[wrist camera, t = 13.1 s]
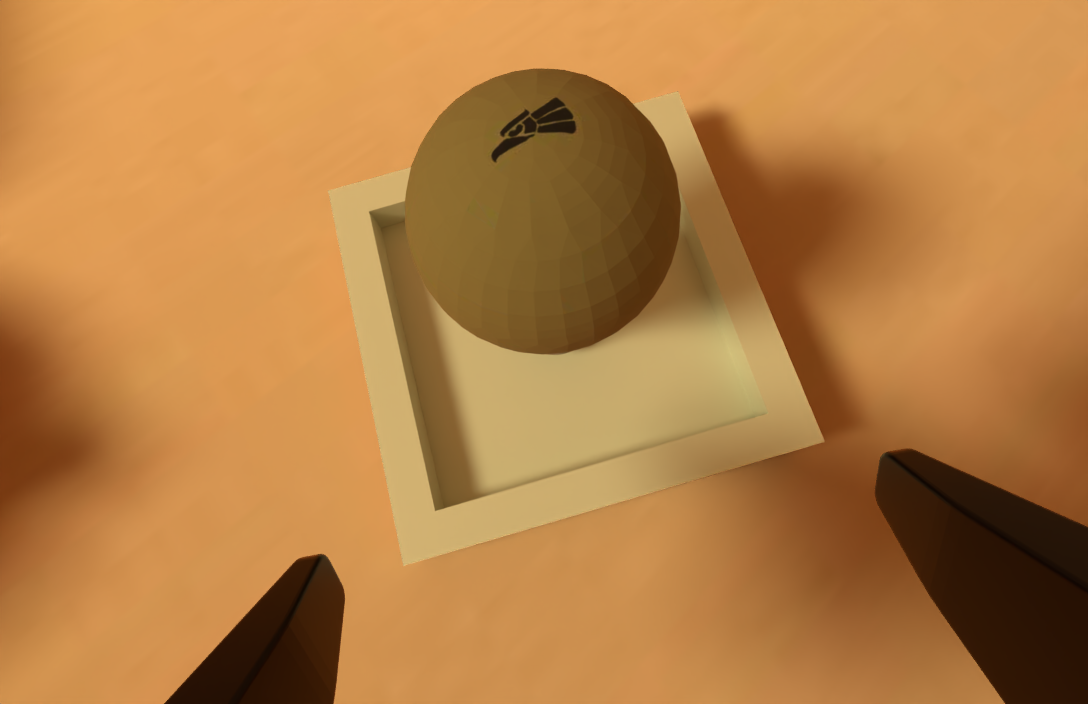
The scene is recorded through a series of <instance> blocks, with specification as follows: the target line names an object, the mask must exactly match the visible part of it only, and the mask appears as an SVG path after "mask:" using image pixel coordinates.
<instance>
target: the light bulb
mask: <svg viewBox="0 0 1088 704" xmlns="http://www.w3.org/2000/svg"><path fill="white" fill-rule="evenodd" d="M680 214H681V201H680V195H679V188H678V181H677V175H676V172H675V169H674V167H673V164H672V162H671V159H670V156H669V154H668V151H667V149H666V146H665V143H664V141H663V140H662V138H661V137H660V135H659V134H658V132H657V131H656V129H655V128H654V126H653V125H652V123H651V122H650V121H649V120H648V119H647V118H646V117H645V116H644V115H643V114H642V112H641V111H640V110H638V109H637V108H636V107H635V106H634V105H633V104H632V103H631V102H630V101H629V100H628V99H627V98H626V97H625V96H624V95H622V94H621V93H619V92H618V91H616V90H615V89H613V88H612V87H610V86H609V85H607V84H605V83H603V82H601V81H598V80H596V79H594V78H591V77H589V76H587V75H583V74H578V73H574V72H570V71H566V70H558V69H529V70H522V71H515V72H511V73H508V74H504V75H501V76H498V77H495V78H492V79H490V80H488V81H486V82H484V83H482V84H479V85H477V86H475V87H473V88H472V89H470V90H469V91H468V92H466V93H465V94H463V95H462V96H460V97H459V98H457V99H456V100H455V101H454V102H453V103H452V104H451V105H450V106H449V107H448V108H447V109H446V110H445V111H444V112H443V113H442V114H441V115H440V116H439V117H438V119H437V120H436V121H435V123H434V124H433V126H432V127H431V129H430V130H429V132H428V133H427V135H426V136H425V138H424V140H423V141H422V143H421V145H420V147H419V149H418V152H417V154H416V156H415V159H414V161H413V163H412V166H411V170H410V174H409V179H408V184H407V189H406V197H405V226H406V233H407V238H408V242H409V246H410V251H411V255H412V258H413V261H414V264H415V266H416V268H417V270H418V272H419V274H420V276H421V278H422V280H423V283H424V285H425V286H426V288H427V290H428V291H429V292H430V294H431V295H432V296H433V298H434V299H435V300H436V301H437V303H438V304H439V305H440V307H441V308H442V309H443V310H444V311H445V312H446V313H447V314H448V315H449V316H450V317H451V318H452V319H453V320H454V321H456V322H457V323H458V324H459V325H460V326H461V327H462V328H464V329H466V330H467V331H469V332H470V333H472V334H473V335H475V336H476V337H478V338H480V339H482V340H485V341H487V342H490V343H492V344H494V345H497V346H499V347H501V348H505V349H509V350H512V351H516V352H522V353H532V354H541V355H544V354H547V355H560V354H565V353H569V352H571V351H574V350H578V349H581V348H585V347H588V346H591V345H593V344H595V343H597V342H599V341H601V340H603V339H605V338H607V337H609V336H611V335H613V334H615V333H616V332H618V331H619V330H620V329H621V328H623V327H624V326H625V325H627V324H628V323H629V322H630V321H632V320H633V319H634V318H636V317H637V316H638V315H639V314H640V312H641V311H642V310H643V309H644V308H645V307H646V305H647V304H648V303H649V302H650V301H651V300H652V298H653V297H654V296H655V294H656V292H657V291H658V289H659V288H660V286H661V284H662V283H663V281H664V279H665V277H666V275H667V273H668V270H669V268H670V266H671V264H672V261H673V257H674V253H675V250H676V246H677V242H678V239H679V229H680Z"/></svg>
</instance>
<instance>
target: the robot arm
mask: <svg viewBox="0 0 1088 704" xmlns="http://www.w3.org/2000/svg"><path fill="white" fill-rule="evenodd" d="M875 497H876V501H877V503H878V506H879V508H880V509H881V511H882V513H883V515H884V517H885V518H886V520H887V522H888V524H889V525H890V527H891V529H892V531H893V533H894V534H895V536H896V538H897V540H898V541H899V543H900V545H901V547H902V549H903V550H904V552H905V554H906V556H907V557H908V559H909V561H910V563H911V565H912V566H913V568H914V570H915V572H916V573H917V575H918V577H919V579H920V580H921V582H922V584H923V585H924V587H925V589H926V590H927V592H928V594H929V595H930V597H931V598H932V600H933V601H934V603H935V604H936V606H937V607H938V609H939V610H940V612H941V613H942V614H943V616H944V617H945V619H946V620H947V621H948V623H949V624H950V626H951V627H952V629H953V630H954V631H955V633H956V634H957V636H958V637H959V639H960V640H961V641H962V643H963V644H964V646H965V647H966V649H967V650H968V651H969V653H970V654H971V656H972V657H973V659H974V660H975V661H976V663H977V664H978V666H979V667H980V668H981V670H982V671H983V673H984V674H985V676H986V677H987V678H988V680H989V681H990V683H991V684H992V686H993V687H994V688H995V690H996V691H997V693H998V694H999V696H1000V697H1001V698H1002V700H1003V701H1004V703H1005V704H1088V527H1087V526H1084V525H1082V524H1080V523H1078V522H1075V521H1073V520H1071V519H1069V518H1066V517H1064V516H1062V515H1060V514H1057V513H1055V512H1053V511H1051V510H1048V509H1046V508H1044V507H1042V506H1039V505H1037V504H1035V503H1033V502H1030V501H1028V500H1026V499H1024V498H1021V497H1019V496H1017V495H1015V494H1012V493H1010V492H1008V491H1006V490H1003V489H1001V488H999V487H997V486H994V485H992V484H990V483H988V482H985V481H983V480H981V479H979V478H976V477H974V476H972V475H970V474H967V473H965V472H963V471H961V470H958V469H956V468H954V467H952V466H949V465H947V464H945V463H943V462H940V461H938V460H936V459H934V458H931V457H929V456H927V455H925V454H922V453H920V452H918V451H916V450H913V449H901V450H895V451H890V452H886V453H884V454H883V455H882V456H881V457H880V461H879V467H878V474H877V480H876V486H875ZM344 604H345V594H344V589H343V586H342V584H341V582H340V580H339V578H338V576H337V574H336V572H335V570H334V568H333V566H332V564H331V562H330V560H329V559H328V557H327V556H325V555H324V554H318V555H312V556H307V557H302V558H299V559H298V560H296V561H295V562H294V563H293V564H292V565H291V566H290V567H289V569H288V570H287V571H286V572H285V573H284V574H283V575H282V576H281V577H280V578H279V579H278V580H277V582H276V583H275V584H274V585H273V586H272V587H271V588H270V589H269V590H268V591H267V592H266V594H265V595H264V596H263V597H262V598H261V599H260V600H259V601H258V602H257V603H256V604H255V605H254V607H253V608H252V609H251V610H250V611H249V612H248V613H247V614H246V615H245V616H244V617H243V619H242V620H241V621H240V622H239V623H238V624H237V625H236V626H235V627H234V628H233V629H232V630H231V632H230V633H229V634H228V635H227V636H226V637H225V638H224V639H223V640H222V641H221V642H220V644H219V645H218V646H217V647H216V648H215V649H214V650H213V651H212V652H211V653H210V654H209V655H208V657H207V658H206V659H205V660H204V661H203V662H202V663H201V664H200V665H199V666H198V667H197V669H196V670H195V671H194V672H193V673H192V674H191V675H190V676H189V677H188V678H187V679H186V680H185V682H184V683H183V684H182V685H181V686H180V687H179V688H178V689H177V690H176V691H175V692H174V694H173V695H172V696H171V697H170V698H169V699H168V700H167V701H166V702H165V703H164V704H333V703H334V697H335V690H336V682H337V672H338V662H339V653H340V643H341V633H342V623H343V614H344Z"/></svg>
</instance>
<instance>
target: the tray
mask: <svg viewBox="0 0 1088 704" xmlns="http://www.w3.org/2000/svg"><path fill="white" fill-rule="evenodd" d="M633 105H634V106H635V107H636V108H637V109H638V110H640V111H641V112H642V114H643V115H644V116H645V117H646V118H647V119H648V120H649V121H650V122H651V123H652V125H653V126H654V128H655V129H656V131H657V132H658V134H659V135H660V137H661V138H662V140H663V141H664V143H665V146H666V149H667V151H668V154H669V156H670V159H671V162H672V164H673V167H674V169H675V172H676V175H677V181H678V188H679V195H680V201H681V214H680V229H679V239H678V242H677V246H676V250H675V253H674V257H673V261H672V264H671V266H670V268H669V270H668V273H667V275H666V277H665V279H664V281H663V283H662V284H661V286H660V288H659V289H658V291H657V292H656V294H655V296H654V297H653V298H652V300H651V301H650V302H649V303H648V304H647V305H646V307H645V308H644V309H643V310H642V311H641V312H640V314H639V315H638V316H637V317H636V318H634V319H633V320H632V321H630V322H629V323H628V324H627V325H625V326H624V327H623V328H621V329H620V330H619V331H618V332H616V333H615V334H613V335H611V336H609V337H607V338H605V339H603V340H601V341H599V342H597V343H595V344H593V345H591V346H588V347H585V348H581V349H578V350H574V351H571V352H569V353H565V354H560V355H547V354H544V355H541V354H532V353H522V352H516V351H512V350H509V349H505V348H501V347H499V346H497V345H494V344H492V343H490V342H487V341H485V340H482V339H480V338H478V337H476V336H475V335H473V334H472V333H470V332H469V331H467V330H466V329H464V328H462V327H461V326H460V325H459V324H458V323H457V322H456V321H454V320H453V319H452V318H451V317H450V316H449V315H448V314H447V313H446V312H445V311H444V310H443V309H442V308H441V307H440V305H439V304H438V303H437V301H436V300H435V299H434V298H433V296H432V295H431V294H430V292H429V291H428V290H427V288H426V286H425V285H424V283H423V280H422V278H421V276H420V274H419V272H418V270H417V268H416V266H415V264H414V261H413V258H412V255H411V251H410V246H409V242H408V238H407V233H406V226H405V197H406V189H407V184H408V179H409V174H410V170H411V167H409V168H406V169H402V170H399V171H395V172H392V173H388V174H385V175H381V176H378V177H374V178H371V179H367V180H364V181H360V182H357V183H353V184H350V185H346V186H343V187H339V188H336V189H332V190H329V191H328V193H329V198H330V203H331V208H332V213H333V218H334V223H335V228H336V233H337V238H338V243H339V248H340V253H341V258H342V263H343V267H344V272H345V277H346V282H347V287H348V292H349V297H350V302H351V307H352V312H353V317H354V322H355V327H356V332H357V337H358V342H359V347H360V352H361V357H362V362H363V367H364V372H365V377H366V382H367V387H368V392H369V397H370V402H371V407H372V412H373V417H374V422H375V427H376V432H377V437H378V442H379V447H380V452H381V457H382V462H383V467H384V472H385V477H386V482H387V487H388V492H389V497H390V502H391V507H392V512H393V517H394V522H395V527H396V532H397V537H398V542H399V547H400V552H401V557H402V562H403V566H405V565H408V564H412V563H415V562H419V561H422V560H425V559H429V558H432V557H436V556H439V555H442V554H446V553H449V552H453V551H456V550H459V549H463V548H466V547H470V546H473V545H476V544H480V543H483V542H487V541H490V540H493V539H497V538H500V537H504V536H507V535H510V534H514V533H517V532H520V531H524V530H527V529H531V528H534V527H537V526H541V525H544V524H548V523H551V522H554V521H558V520H561V519H565V518H568V517H571V516H575V515H578V514H582V513H585V512H588V511H592V510H595V509H599V508H602V507H605V506H609V505H612V504H616V503H619V502H622V501H626V500H629V499H633V498H636V497H639V496H643V495H646V494H650V493H653V492H656V491H660V490H663V489H667V488H670V487H673V486H677V485H680V484H683V483H687V482H690V481H694V480H697V479H700V478H704V477H707V476H711V475H714V474H717V473H721V472H724V471H728V470H731V469H734V468H738V467H741V466H745V465H748V464H751V463H755V462H758V461H762V460H765V459H768V458H772V457H775V456H779V455H782V454H785V453H789V452H792V451H796V450H799V449H802V448H806V447H809V446H813V445H816V444H819V443H823V442H825V441H824V438H823V436H822V434H821V431H820V429H819V426H818V424H817V422H816V419H815V417H814V414H813V412H812V410H811V407H810V405H809V402H808V400H807V398H806V395H805V393H804V391H803V388H802V386H801V383H800V381H799V379H798V376H797V374H796V371H795V369H794V367H793V364H792V362H791V359H790V357H789V355H788V352H787V350H786V347H785V345H784V343H783V340H782V338H781V336H780V333H779V331H778V328H777V326H776V324H775V321H774V319H773V316H772V314H771V312H770V309H769V307H768V304H767V302H766V300H765V297H764V295H763V293H762V290H761V288H760V285H759V283H758V281H757V278H756V276H755V273H754V271H753V269H752V266H751V264H750V261H749V259H748V257H747V254H746V252H745V249H744V247H743V245H742V242H741V240H740V238H739V235H738V233H737V230H736V228H735V226H734V223H733V221H732V218H731V216H730V214H729V211H728V209H727V206H726V204H725V202H724V199H723V197H722V195H721V192H720V190H719V187H718V185H717V183H716V180H715V178H714V175H713V173H712V171H711V168H710V166H709V163H708V161H707V159H706V156H705V154H704V152H703V149H702V147H701V144H700V142H699V140H698V137H697V135H696V132H695V130H694V128H693V125H692V123H691V120H690V118H689V116H688V113H687V111H686V108H685V106H684V104H683V101H682V99H681V97H680V94H679V92H678V91H677V92H673V93H670V94H666V95H663V96H659V97H655V98H652V99H648V100H645V101H641V102H638V103H634V104H633Z"/></svg>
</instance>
